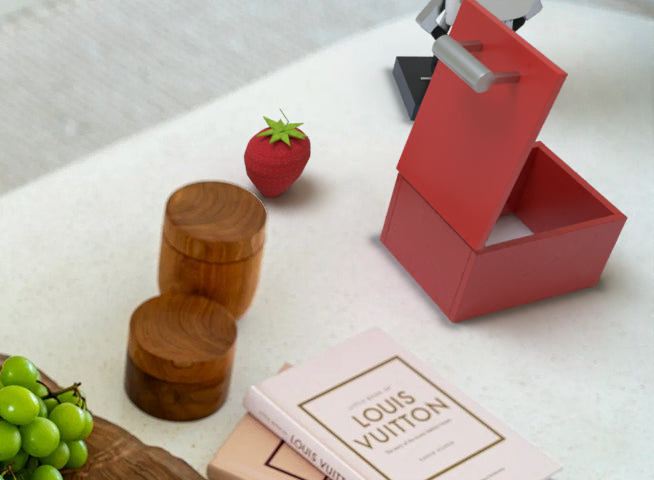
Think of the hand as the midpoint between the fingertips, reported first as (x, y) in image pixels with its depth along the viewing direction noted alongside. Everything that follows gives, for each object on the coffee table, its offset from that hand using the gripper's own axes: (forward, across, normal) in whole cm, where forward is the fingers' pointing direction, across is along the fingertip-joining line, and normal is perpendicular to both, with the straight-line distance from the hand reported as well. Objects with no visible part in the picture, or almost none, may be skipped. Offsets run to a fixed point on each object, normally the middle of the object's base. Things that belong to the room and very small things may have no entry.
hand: (461, 73), depth 127 cm
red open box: (+4, +11, +27) cm, 30 cm away
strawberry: (+4, +27, +12) cm, 29 cm away
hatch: (-14, +18, +28) cm, 35 cm away
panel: (+4, 0, 0) cm, 4 cm away
